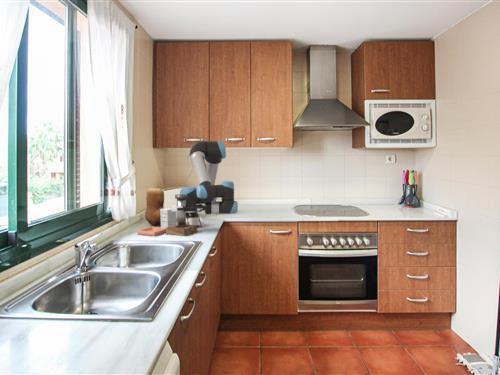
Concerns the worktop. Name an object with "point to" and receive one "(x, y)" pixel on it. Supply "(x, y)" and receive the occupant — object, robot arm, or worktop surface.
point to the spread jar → (193, 219)
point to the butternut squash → (154, 206)
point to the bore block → (181, 230)
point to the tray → (152, 231)
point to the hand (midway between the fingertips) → (172, 208)
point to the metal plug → (181, 214)
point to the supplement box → (168, 217)
